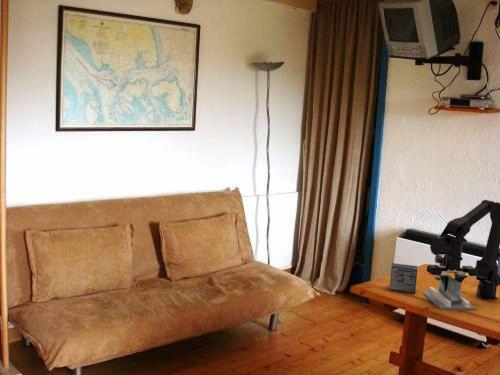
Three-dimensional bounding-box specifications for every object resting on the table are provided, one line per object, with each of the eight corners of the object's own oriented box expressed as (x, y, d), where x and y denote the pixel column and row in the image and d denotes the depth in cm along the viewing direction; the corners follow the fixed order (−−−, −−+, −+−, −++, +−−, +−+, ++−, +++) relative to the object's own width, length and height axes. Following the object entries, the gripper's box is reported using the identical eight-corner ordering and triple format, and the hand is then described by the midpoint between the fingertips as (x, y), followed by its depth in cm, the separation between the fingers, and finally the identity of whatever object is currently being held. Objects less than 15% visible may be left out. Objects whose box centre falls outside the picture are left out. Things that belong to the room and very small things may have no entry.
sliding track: (455, 295, 253) (456, 288, 253) (475, 310, 236) (476, 302, 235) (422, 294, 252) (423, 287, 251) (440, 309, 234) (441, 301, 234)
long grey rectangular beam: (447, 291, 249) (448, 274, 248) (459, 301, 238) (461, 284, 237) (438, 291, 249) (440, 274, 248) (451, 301, 237) (453, 283, 236)
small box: (415, 289, 258) (418, 265, 256) (415, 294, 252) (417, 269, 250) (389, 286, 261) (392, 262, 259) (389, 290, 254) (391, 266, 253)
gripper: (467, 248, 250) (463, 285, 252) (423, 247, 248) (419, 284, 250) (480, 256, 239) (475, 294, 241) (434, 254, 237) (430, 293, 239)
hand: (449, 291), depth 243 cm, fingers closed on long grey rectangular beam, 3 cm apart
